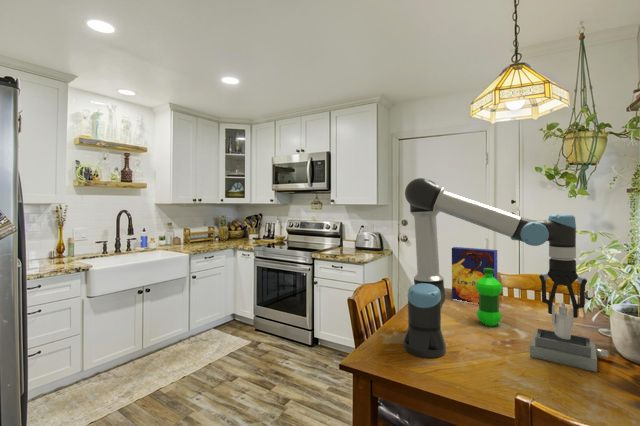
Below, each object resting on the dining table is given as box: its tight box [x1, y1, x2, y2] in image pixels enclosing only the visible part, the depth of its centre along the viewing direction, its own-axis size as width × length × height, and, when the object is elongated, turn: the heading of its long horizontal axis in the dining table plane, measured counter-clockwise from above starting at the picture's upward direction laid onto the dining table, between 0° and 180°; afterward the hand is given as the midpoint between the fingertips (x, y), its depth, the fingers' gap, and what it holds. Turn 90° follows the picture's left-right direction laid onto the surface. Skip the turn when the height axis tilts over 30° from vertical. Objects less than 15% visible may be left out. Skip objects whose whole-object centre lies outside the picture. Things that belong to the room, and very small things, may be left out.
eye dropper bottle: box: [553, 301, 572, 339], centre depth 113 cm, size 4×6×12 cm
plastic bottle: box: [476, 268, 503, 327], centre depth 145 cm, size 10×10×25 cm
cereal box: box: [451, 246, 498, 304], centre depth 177 cm, size 22×6×30 cm, turn 47°
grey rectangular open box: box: [529, 328, 610, 373], centre depth 113 cm, size 16×22×7 cm
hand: (562, 324), depth 113 cm, fingers closed on eye dropper bottle, 4 cm apart
